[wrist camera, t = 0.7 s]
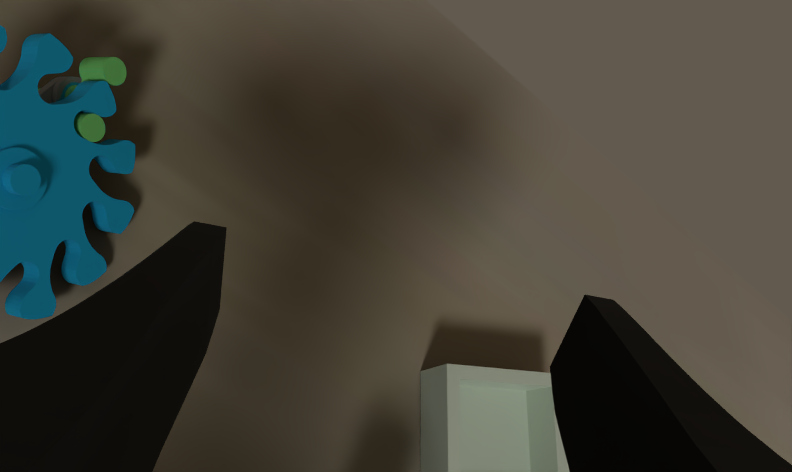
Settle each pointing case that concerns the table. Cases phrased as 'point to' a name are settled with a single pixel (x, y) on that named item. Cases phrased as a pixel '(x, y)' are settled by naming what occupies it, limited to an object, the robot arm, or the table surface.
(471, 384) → the parts tray
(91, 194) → the gear
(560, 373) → the robot arm
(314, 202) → the table surface
